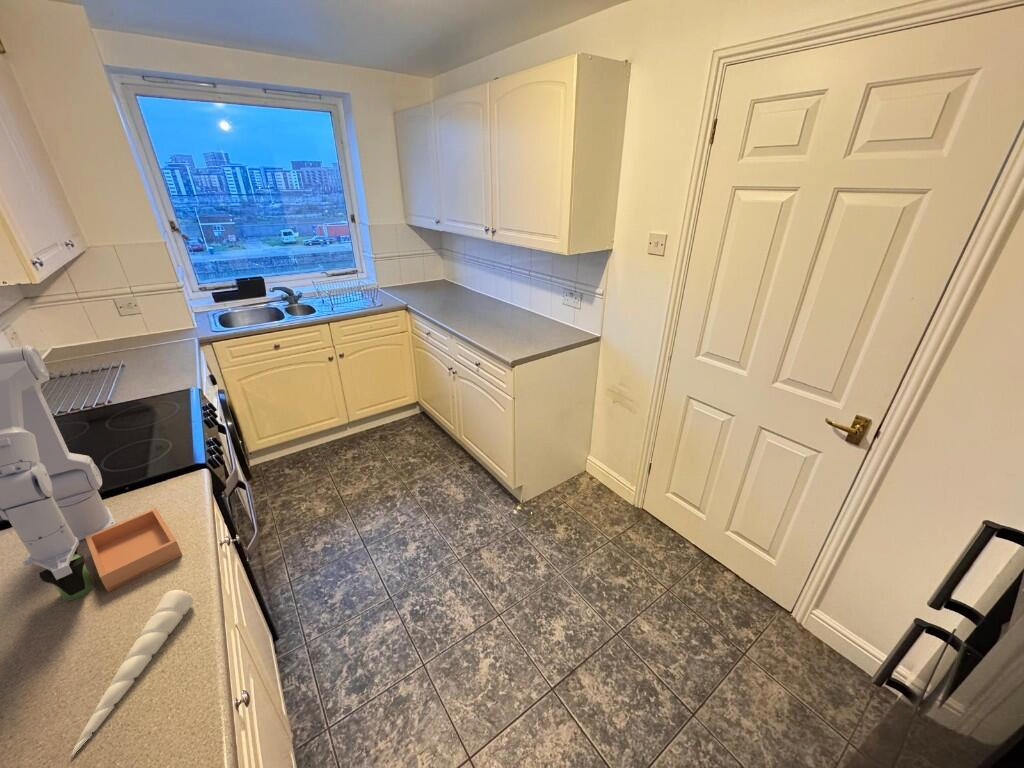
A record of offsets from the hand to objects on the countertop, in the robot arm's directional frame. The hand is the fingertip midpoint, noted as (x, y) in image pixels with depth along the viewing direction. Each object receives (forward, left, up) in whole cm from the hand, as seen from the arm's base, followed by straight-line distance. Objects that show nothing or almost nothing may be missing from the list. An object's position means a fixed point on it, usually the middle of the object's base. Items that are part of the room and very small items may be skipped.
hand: (75, 584), depth 80 cm
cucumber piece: (0, 0, -2) cm, 2 cm away
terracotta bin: (-3, +9, -2) cm, 10 cm away
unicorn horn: (+27, +4, -2) cm, 28 cm away
